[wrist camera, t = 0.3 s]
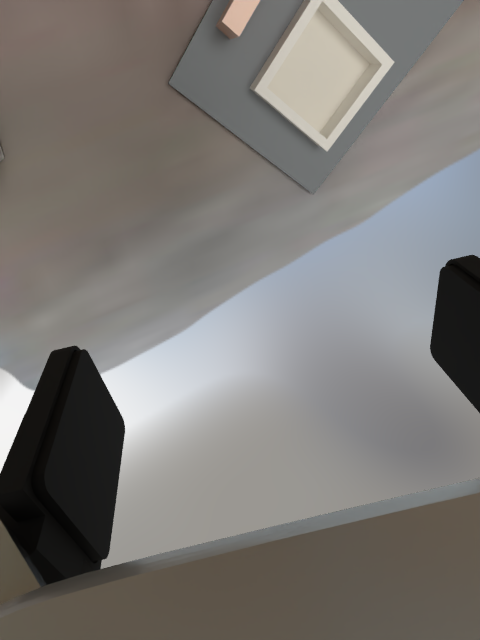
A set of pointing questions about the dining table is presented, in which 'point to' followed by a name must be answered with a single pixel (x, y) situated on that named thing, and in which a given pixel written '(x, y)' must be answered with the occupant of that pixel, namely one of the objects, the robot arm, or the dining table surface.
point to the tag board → (306, 73)
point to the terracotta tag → (236, 17)
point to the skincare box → (1, 154)
